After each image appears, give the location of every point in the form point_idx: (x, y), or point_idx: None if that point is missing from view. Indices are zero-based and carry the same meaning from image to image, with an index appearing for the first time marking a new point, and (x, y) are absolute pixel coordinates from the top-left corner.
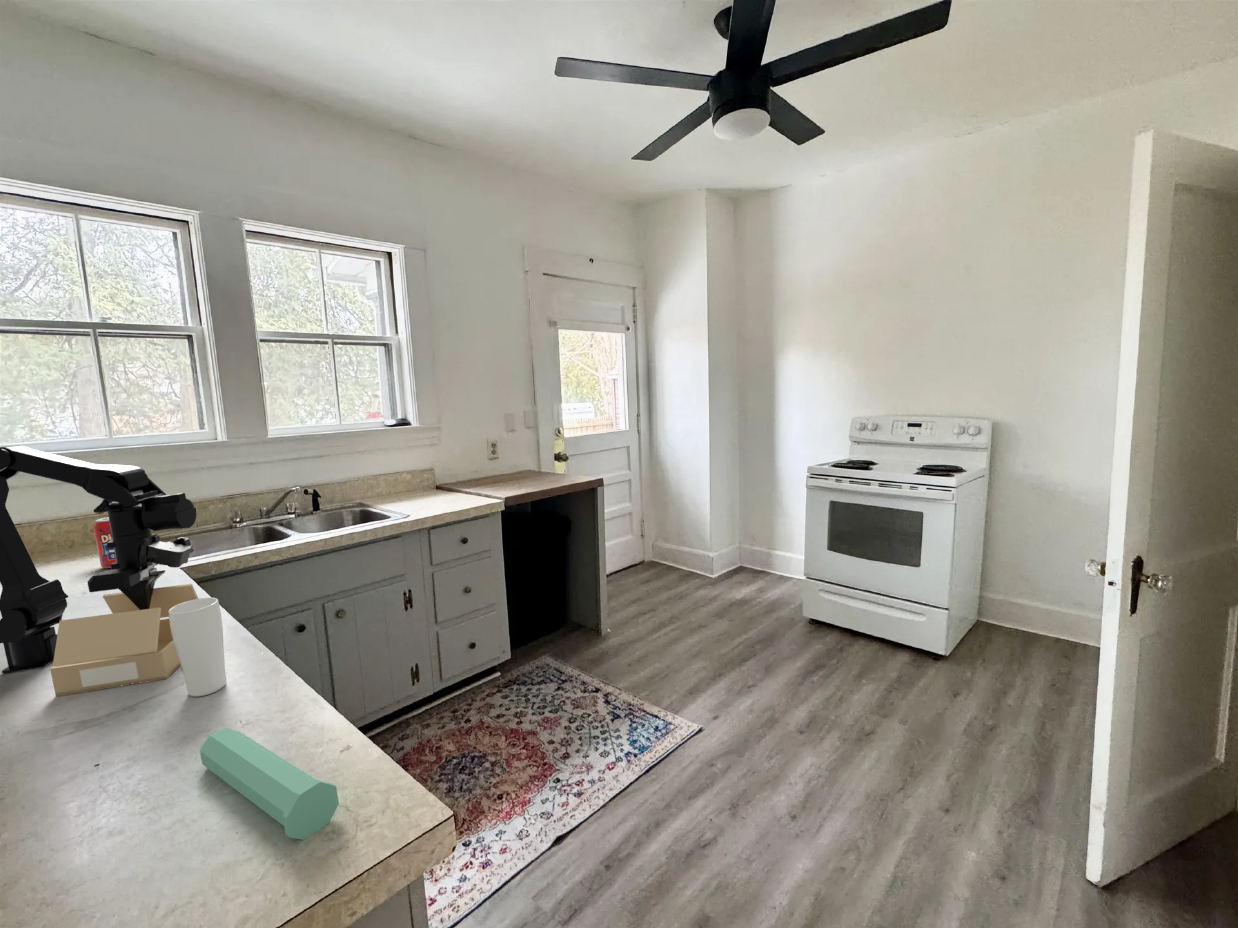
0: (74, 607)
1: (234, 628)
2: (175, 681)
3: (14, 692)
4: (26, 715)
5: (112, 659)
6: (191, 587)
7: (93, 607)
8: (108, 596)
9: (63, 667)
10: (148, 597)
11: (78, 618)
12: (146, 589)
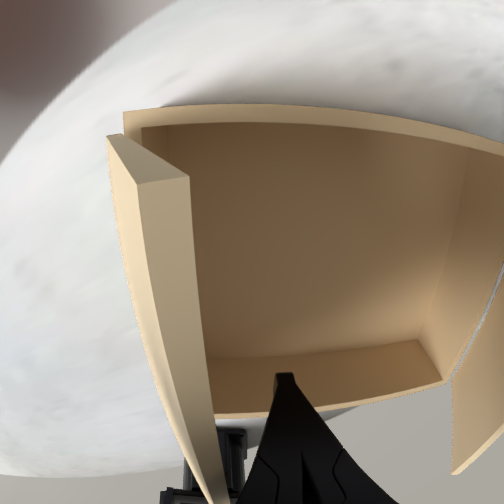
0: (14, 446)
1: (108, 50)
2: (489, 109)
3: (346, 409)
4: None
5: (496, 279)
6: (173, 171)
7: (7, 433)
8: None
9: (455, 365)
10: (309, 436)
11: (482, 451)
12: (364, 489)
